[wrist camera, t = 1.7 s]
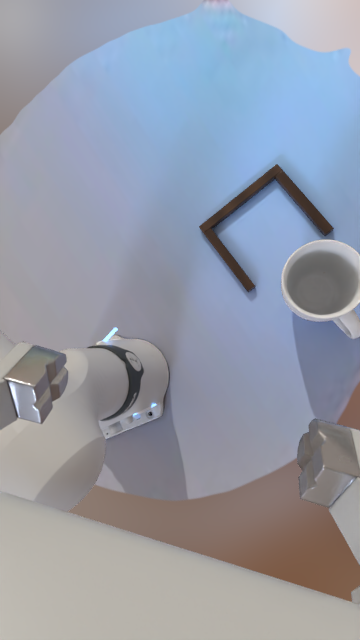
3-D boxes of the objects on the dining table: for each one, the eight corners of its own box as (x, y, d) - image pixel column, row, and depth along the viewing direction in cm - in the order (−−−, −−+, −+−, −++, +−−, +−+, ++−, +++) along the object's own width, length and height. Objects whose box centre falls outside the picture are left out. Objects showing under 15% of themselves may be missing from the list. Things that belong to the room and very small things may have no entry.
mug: (380, 318, 54) (410, 310, 41) (321, 356, 56) (332, 359, 43) (321, 248, 57) (333, 222, 44) (268, 287, 59) (264, 271, 47)
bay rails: (248, 292, 60) (247, 291, 59) (200, 228, 64) (198, 226, 63) (332, 230, 57) (333, 228, 56) (277, 167, 60) (277, 163, 59)
